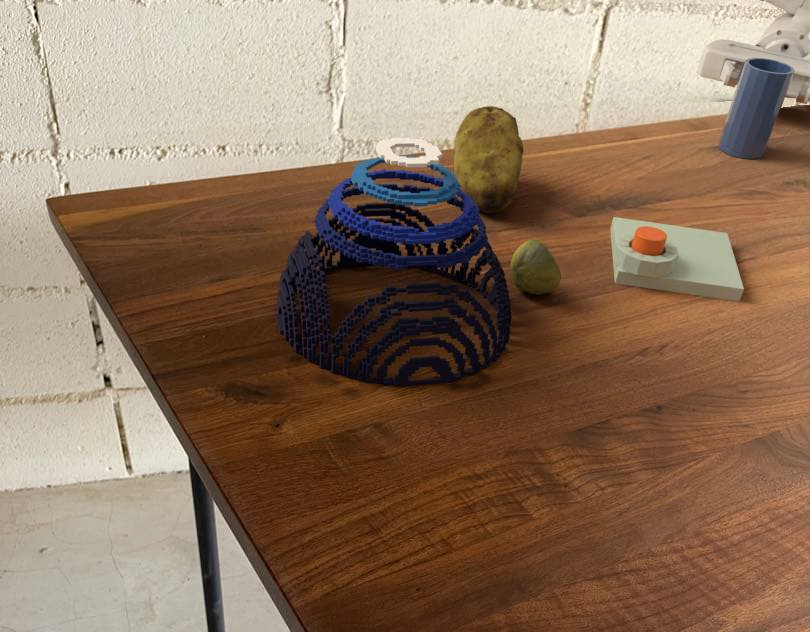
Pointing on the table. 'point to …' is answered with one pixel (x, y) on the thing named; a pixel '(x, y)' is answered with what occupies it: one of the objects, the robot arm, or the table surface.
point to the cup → (755, 107)
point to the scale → (677, 261)
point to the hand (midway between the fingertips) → (766, 88)
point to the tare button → (649, 241)
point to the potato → (488, 158)
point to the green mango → (535, 268)
